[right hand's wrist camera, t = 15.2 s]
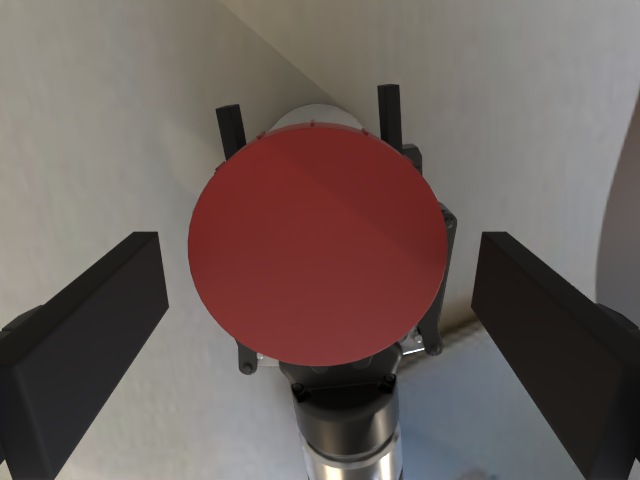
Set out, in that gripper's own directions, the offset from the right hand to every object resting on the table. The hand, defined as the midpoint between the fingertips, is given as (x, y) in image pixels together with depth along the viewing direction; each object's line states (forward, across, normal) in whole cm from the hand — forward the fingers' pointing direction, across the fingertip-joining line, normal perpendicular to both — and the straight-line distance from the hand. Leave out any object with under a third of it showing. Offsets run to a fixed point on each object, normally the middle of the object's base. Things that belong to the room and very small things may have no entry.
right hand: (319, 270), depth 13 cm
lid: (+1, 0, 0) cm, 1 cm away
